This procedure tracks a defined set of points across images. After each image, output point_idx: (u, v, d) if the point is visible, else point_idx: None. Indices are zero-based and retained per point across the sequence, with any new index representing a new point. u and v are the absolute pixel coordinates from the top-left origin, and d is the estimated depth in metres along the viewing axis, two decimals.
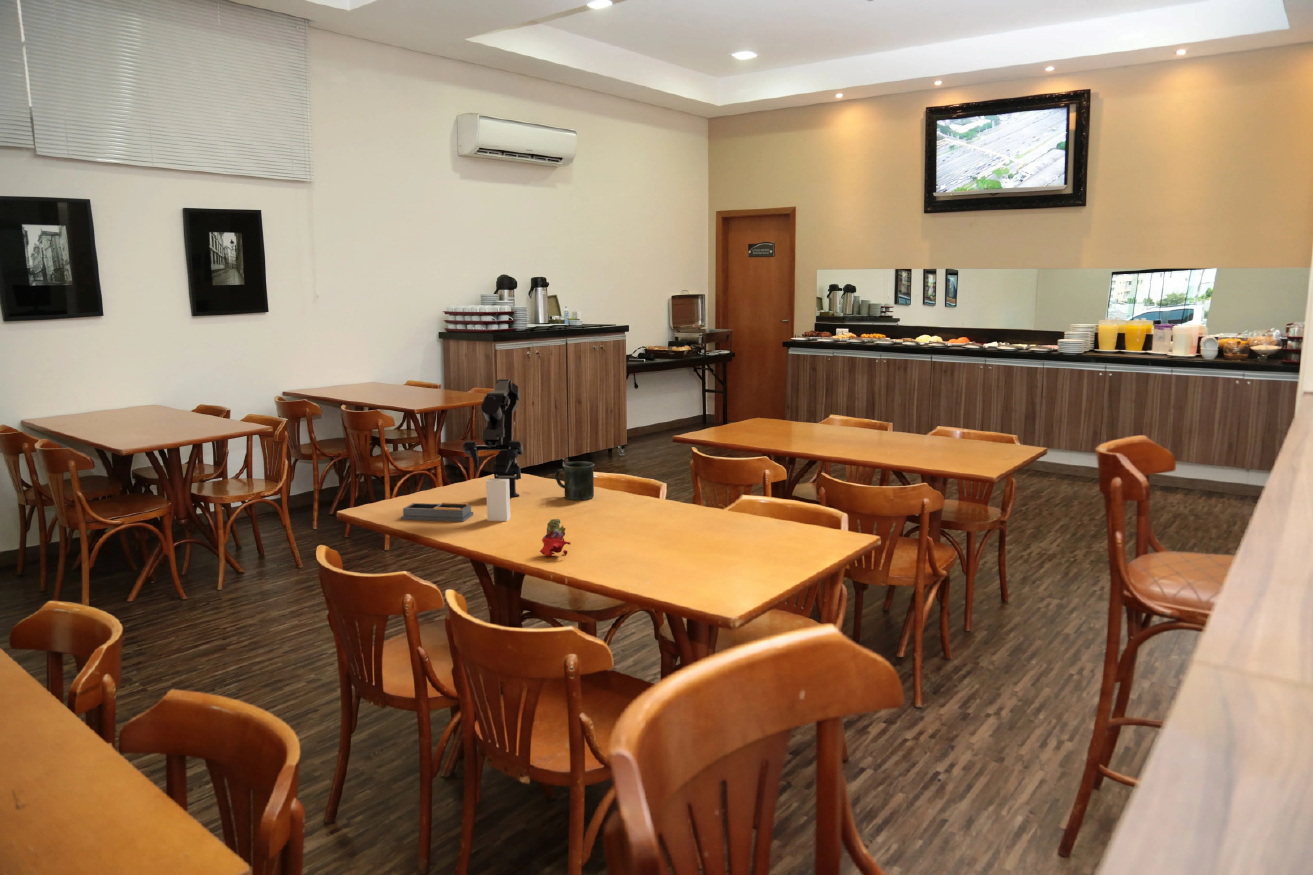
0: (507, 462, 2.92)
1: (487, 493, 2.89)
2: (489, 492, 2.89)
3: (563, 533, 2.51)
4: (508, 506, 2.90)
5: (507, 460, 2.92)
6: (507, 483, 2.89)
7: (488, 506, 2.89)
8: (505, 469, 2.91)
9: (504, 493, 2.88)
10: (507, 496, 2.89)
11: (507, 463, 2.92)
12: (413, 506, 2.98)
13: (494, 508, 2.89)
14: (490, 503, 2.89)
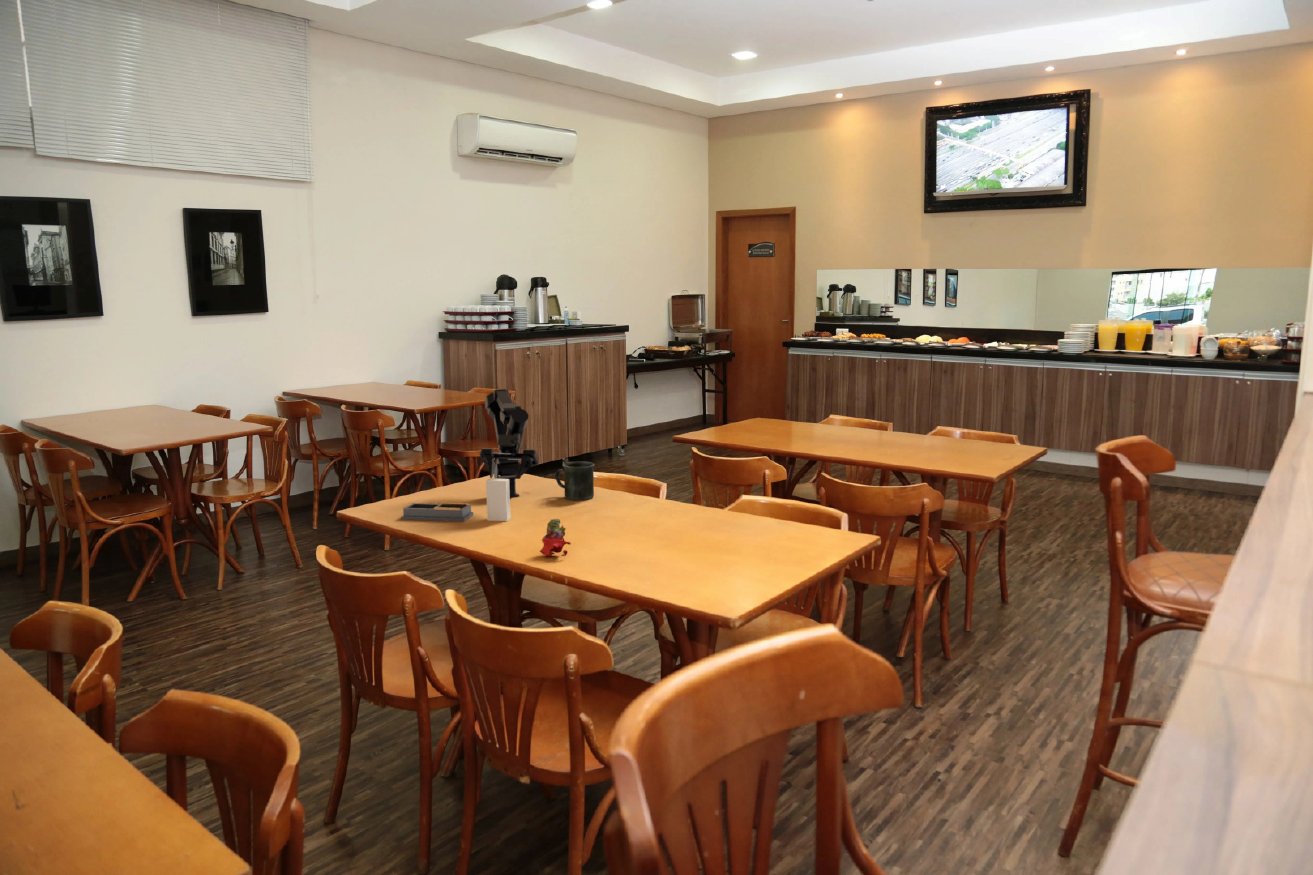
0: (520, 468, 2.96)
1: (487, 493, 2.89)
2: (489, 492, 2.89)
3: (563, 533, 2.51)
4: (508, 506, 2.90)
5: (520, 467, 2.96)
6: (507, 483, 2.89)
7: (488, 506, 2.89)
8: (517, 475, 2.95)
9: (504, 493, 2.88)
10: (507, 496, 2.89)
11: (520, 469, 2.96)
12: (413, 506, 2.98)
13: (494, 508, 2.89)
14: (490, 503, 2.89)
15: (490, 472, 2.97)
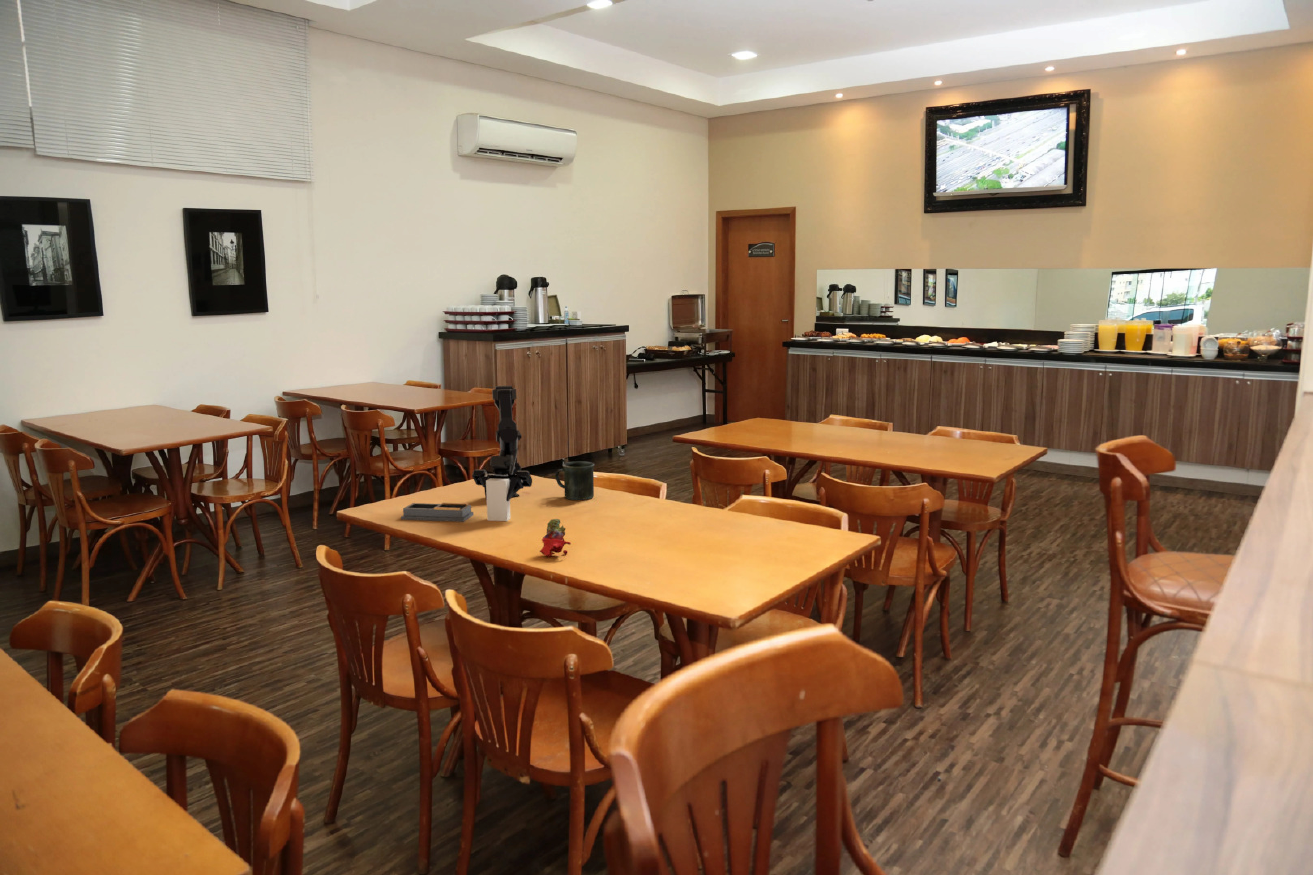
0: (509, 491, 2.89)
1: (487, 493, 2.89)
2: (489, 492, 2.89)
3: (563, 533, 2.51)
4: (508, 505, 2.90)
5: (510, 489, 2.90)
6: (507, 483, 2.89)
7: (488, 506, 2.89)
8: None
9: (504, 493, 2.88)
10: None
11: (509, 491, 2.89)
12: (413, 506, 2.98)
13: (494, 508, 2.89)
14: (490, 503, 2.89)
15: (486, 494, 2.90)
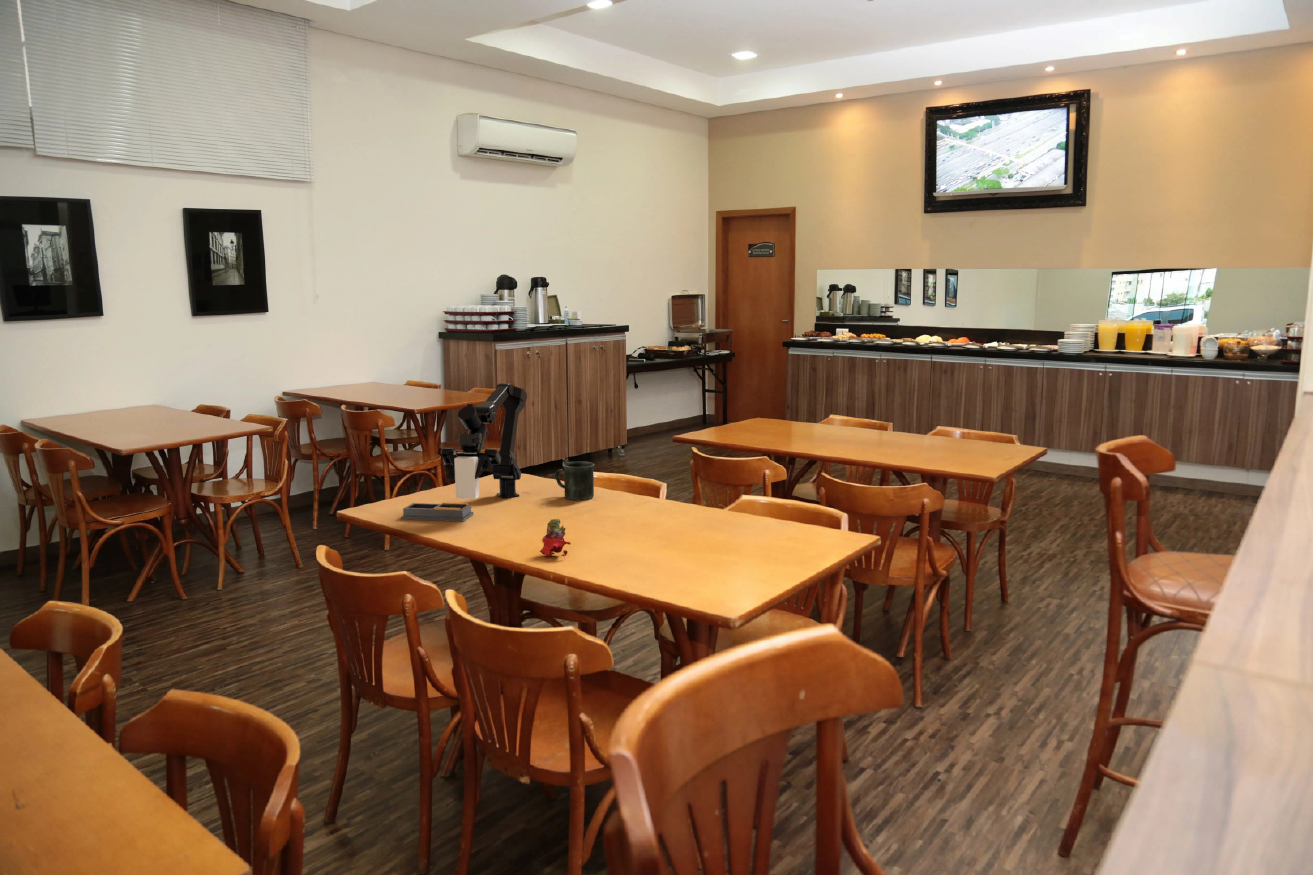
0: (478, 468, 2.90)
1: (455, 471, 2.89)
2: (457, 469, 2.89)
3: (563, 533, 2.51)
4: (476, 483, 2.91)
5: (478, 466, 2.90)
6: (475, 461, 2.89)
7: (457, 484, 2.90)
8: (475, 475, 2.89)
9: (472, 471, 2.88)
10: None
11: (478, 469, 2.90)
12: (413, 506, 2.98)
13: (463, 486, 2.90)
14: (458, 481, 2.90)
15: (454, 472, 2.90)
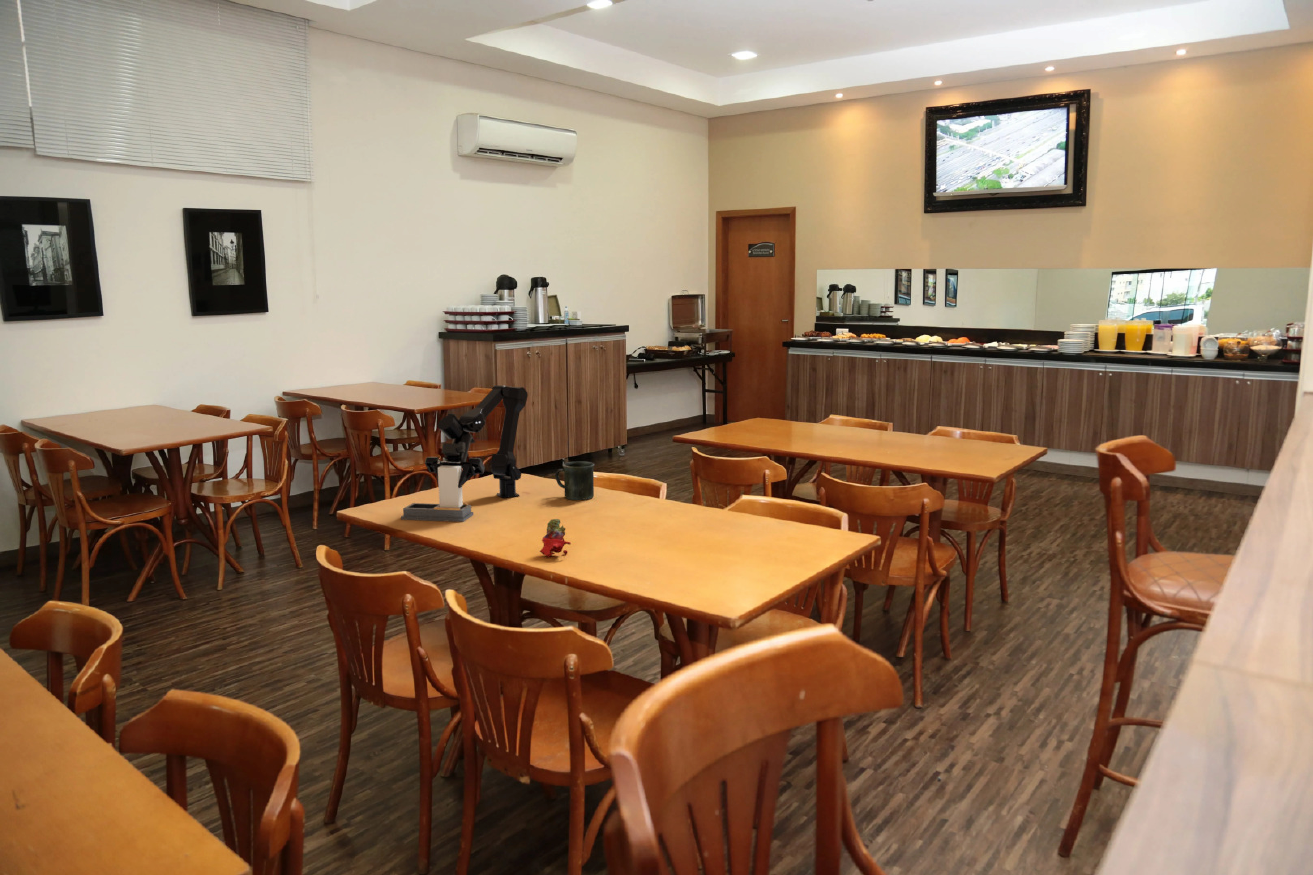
0: (461, 477, 2.91)
1: (439, 480, 2.91)
2: (440, 479, 2.91)
3: (563, 533, 2.51)
4: (460, 492, 2.92)
5: (461, 476, 2.92)
6: (459, 470, 2.91)
7: (440, 493, 2.91)
8: (458, 484, 2.90)
9: (456, 480, 2.90)
10: None
11: (461, 478, 2.91)
12: (413, 506, 2.98)
13: (446, 495, 2.91)
14: (442, 490, 2.91)
15: None
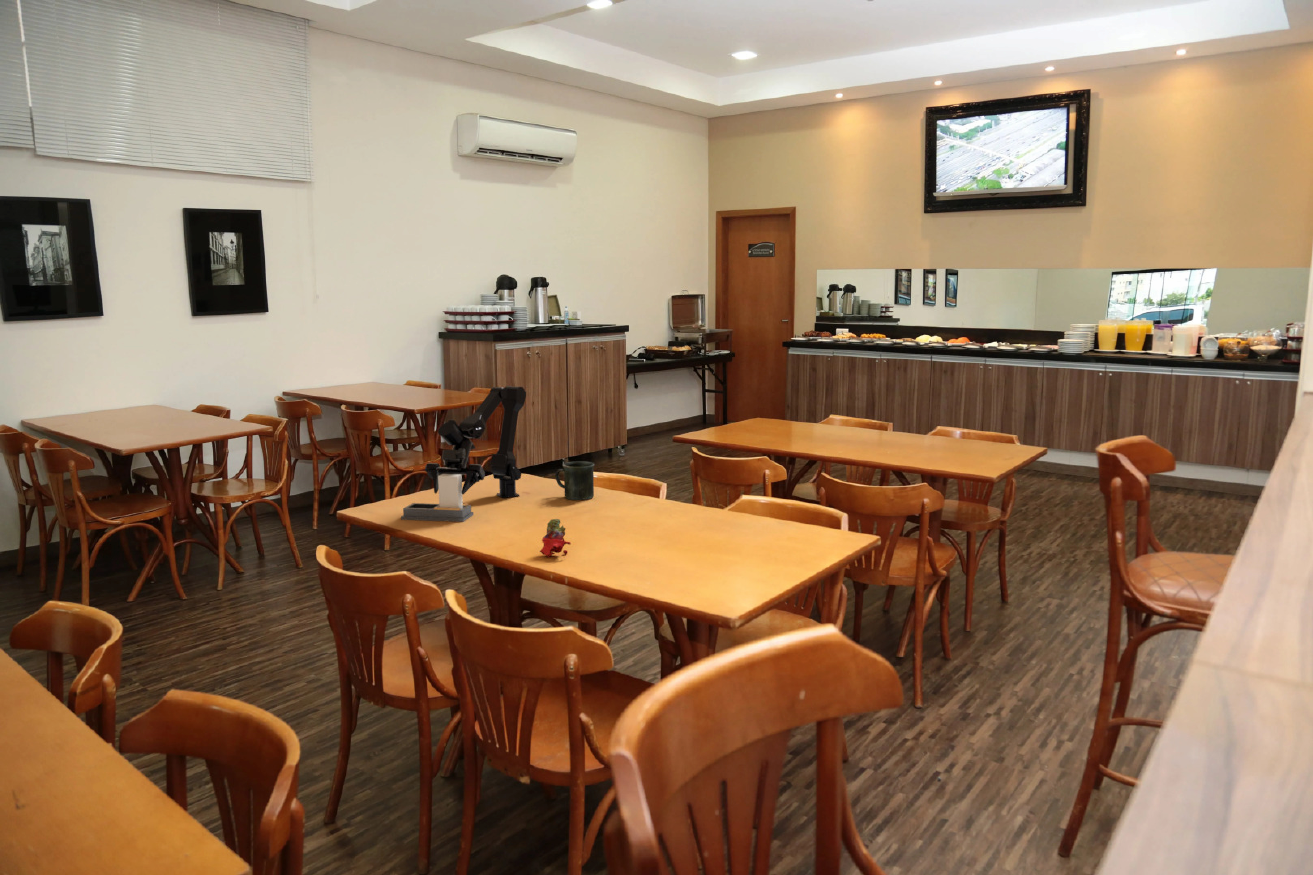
0: (465, 484, 2.91)
1: (439, 488, 2.91)
2: (441, 487, 2.91)
3: (563, 533, 2.51)
4: (460, 501, 2.93)
5: (465, 482, 2.92)
6: (459, 478, 2.91)
7: (440, 501, 2.92)
8: (462, 490, 2.90)
9: (456, 488, 2.90)
10: (459, 491, 2.92)
11: (465, 485, 2.91)
12: (413, 506, 2.98)
13: (447, 503, 2.92)
14: (442, 499, 2.92)
15: (435, 487, 2.92)
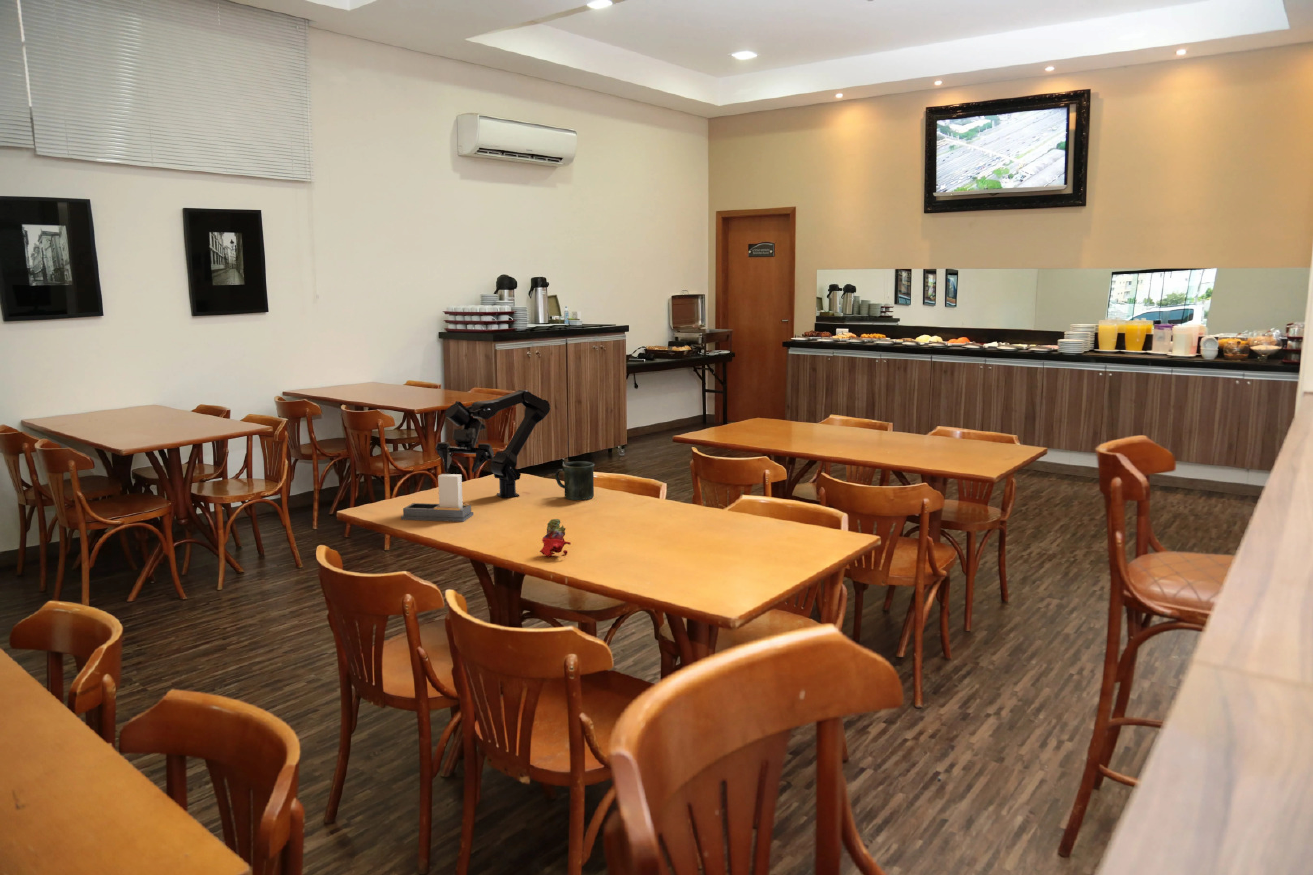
0: (475, 463, 3.00)
1: (439, 488, 2.91)
2: (441, 487, 2.91)
3: (563, 533, 2.51)
4: (460, 501, 2.93)
5: (475, 461, 3.00)
6: (459, 478, 2.91)
7: (440, 501, 2.92)
8: (472, 469, 2.99)
9: (456, 488, 2.90)
10: (459, 491, 2.92)
11: (474, 463, 3.00)
12: (413, 506, 2.98)
13: (447, 503, 2.92)
14: (442, 499, 2.92)
15: (445, 466, 3.01)
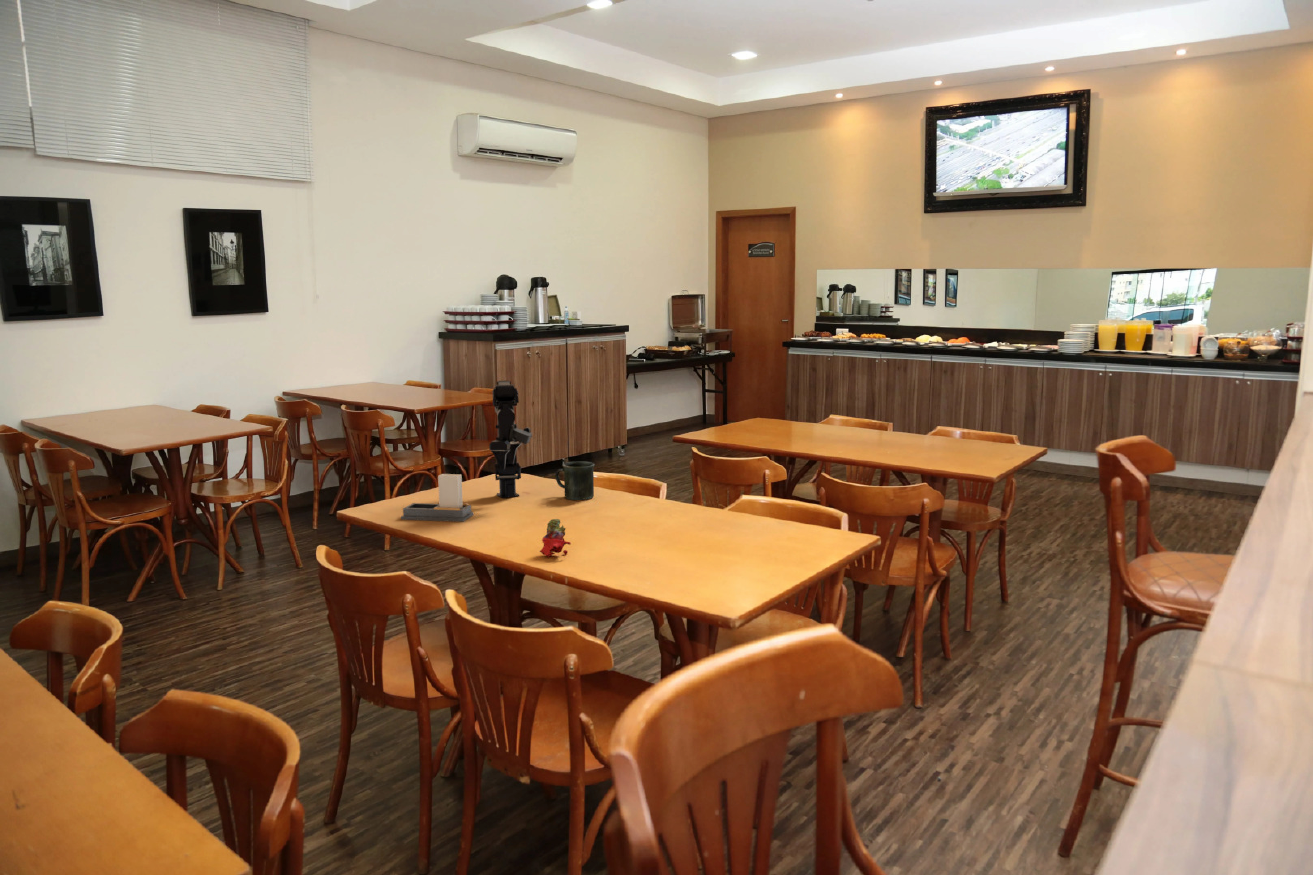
0: (514, 455, 3.15)
1: (439, 488, 2.91)
2: (441, 487, 2.91)
3: (563, 533, 2.51)
4: (460, 501, 2.93)
5: (515, 453, 3.15)
6: (459, 478, 2.91)
7: (440, 501, 2.92)
8: (513, 462, 3.15)
9: (456, 488, 2.90)
10: (459, 491, 2.92)
11: (514, 456, 3.15)
12: (413, 506, 2.98)
13: (447, 503, 2.92)
14: (442, 499, 2.92)
15: (505, 465, 3.05)
